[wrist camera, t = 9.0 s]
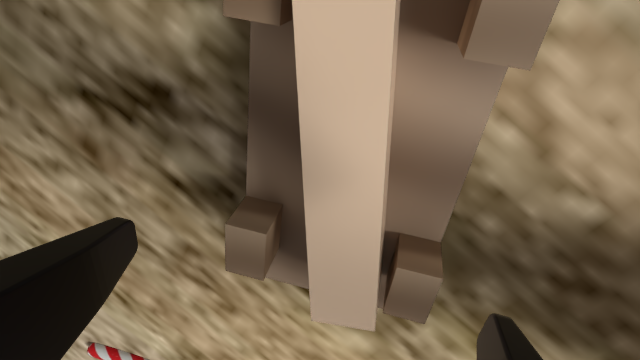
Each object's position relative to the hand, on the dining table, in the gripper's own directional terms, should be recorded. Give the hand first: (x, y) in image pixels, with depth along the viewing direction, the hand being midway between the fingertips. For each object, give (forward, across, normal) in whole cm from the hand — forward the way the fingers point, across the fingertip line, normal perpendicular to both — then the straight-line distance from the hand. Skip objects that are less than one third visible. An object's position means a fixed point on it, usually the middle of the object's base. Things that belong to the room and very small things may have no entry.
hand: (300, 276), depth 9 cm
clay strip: (+9, 0, 0) cm, 9 cm away
